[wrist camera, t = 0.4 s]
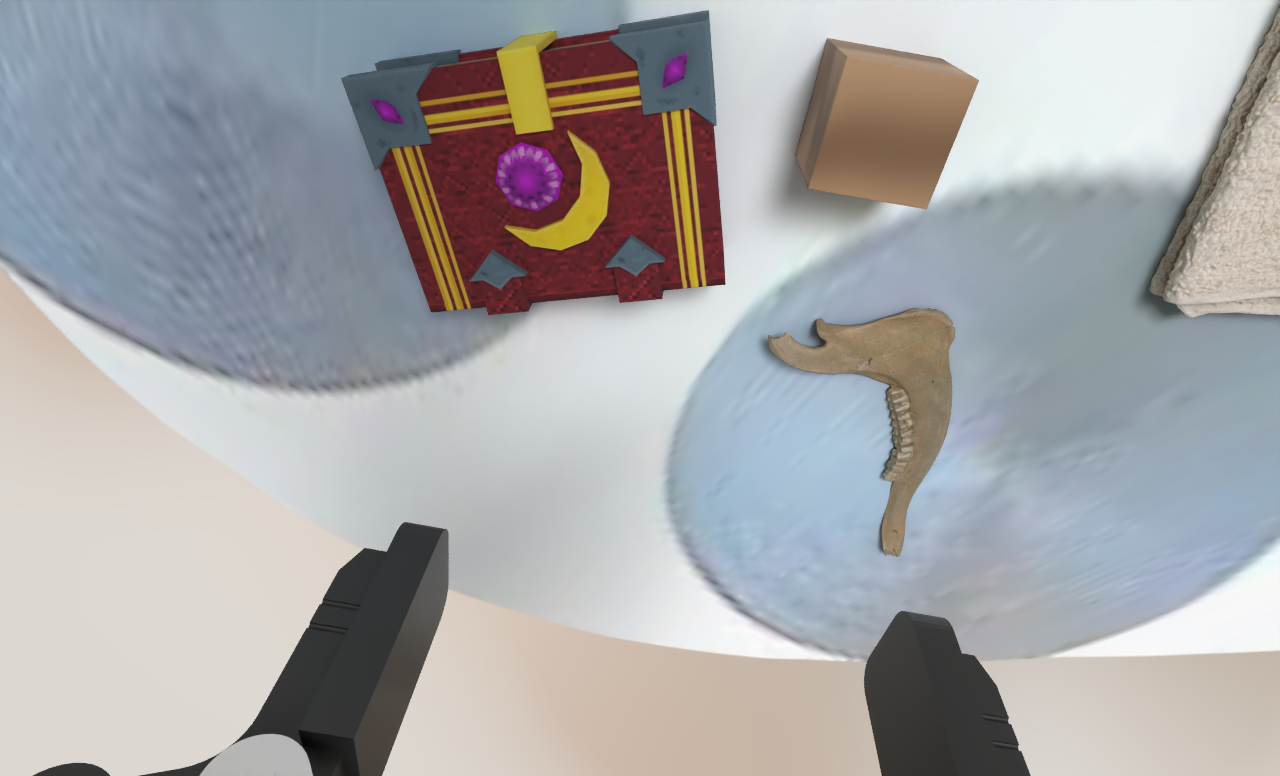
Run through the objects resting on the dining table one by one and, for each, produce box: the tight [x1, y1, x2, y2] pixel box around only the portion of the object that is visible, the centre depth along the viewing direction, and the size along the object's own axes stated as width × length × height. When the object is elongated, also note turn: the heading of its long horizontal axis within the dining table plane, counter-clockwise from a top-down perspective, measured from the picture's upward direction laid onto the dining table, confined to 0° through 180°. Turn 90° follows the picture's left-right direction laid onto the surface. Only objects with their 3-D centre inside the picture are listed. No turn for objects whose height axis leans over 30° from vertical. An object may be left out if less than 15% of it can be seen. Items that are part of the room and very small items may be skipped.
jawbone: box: [768, 308, 955, 557], centre depth 40 cm, size 9×20×2 cm, turn 31°
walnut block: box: [795, 38, 979, 209], centre depth 28 cm, size 5×5×5 cm
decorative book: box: [341, 10, 725, 315], centre depth 31 cm, size 11×16×5 cm
